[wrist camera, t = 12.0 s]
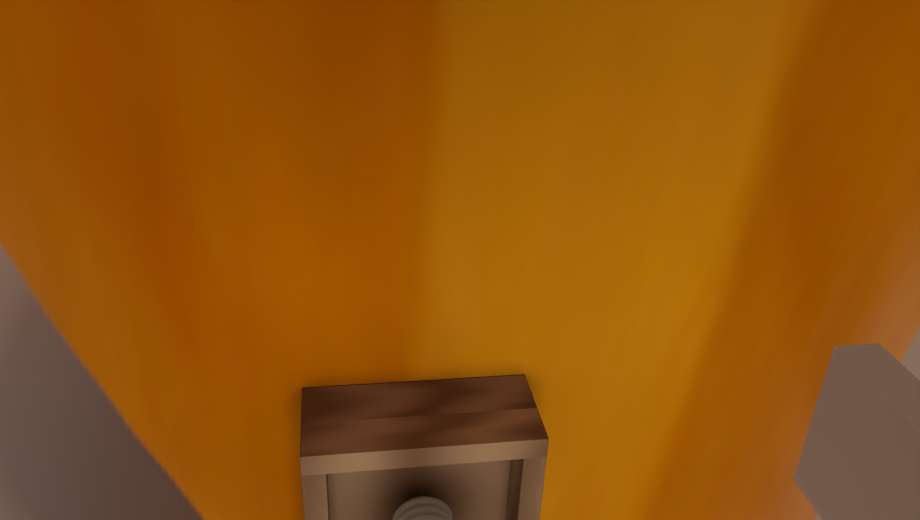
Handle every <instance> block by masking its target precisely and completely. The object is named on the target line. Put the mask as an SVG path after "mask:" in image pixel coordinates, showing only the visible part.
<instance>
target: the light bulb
mask: <svg viewBox="0 0 920 520" xmlns="http://www.w3.org/2000/svg"><path fill="white" fill-rule="evenodd" d="M392 520H453V516H452V512H451V510H450V508H449V506H448V505H447V504H446V503H445V502H443V501H442V500H440V499H437V498H433V497H429V496H417V497H414V498H412V499H410V500H408V501H407V502H405V503H404V504H402V505H401V506H400V507H399V508H398V509H397V510H396V512H395V513H394V515H393V519H392Z"/></svg>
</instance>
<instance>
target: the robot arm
mask: <svg viewBox="0 0 920 520" xmlns="http://www.w3.org/2000/svg"><path fill="white" fill-rule="evenodd" d="M793 480H794V481H795V483H796V484H797V486H798V487H799V488H800V490H801V491H802V492H803V494H804V495H805V497H806V498H807V499H808V501H809V502H810V503H811V505H812V506H813V508H814V509H815V510H816V512H817V513H818V514H819V516H820V517H821V518H822V520H920V381H919V380H918V379H917V378H916V377H915V376H914V375H913V374H912V373H910V372H909V371H908V370H907V369H906V368H905V367H904V366H903V365H902V364H901V363H900V362H899V361H898V360H896V359H895V358H894V357H893V356H892V355H891V354H890V353H889V352H888V351H887V350H886V349H884V348H883V347H882V346H881V345H880V344H864V345H847V346H834V349H833V353H832V356H831V359H830V362H829V366H828V369H827V372H826V375H825V379H824V382H823V385H822V388H821V392H820V395H819V398H818V401H817V404H816V408H815V411H814V414H813V417H812V421H811V424H810V427H809V430H808V434H807V437H806V440H805V443H804V447H803V450H802V453H801V456H800V460H799V463H798V466H797V469H796V473H795V476H794V479H793Z"/></svg>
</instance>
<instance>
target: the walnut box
mask: <svg viewBox="0 0 920 520" xmlns="http://www.w3.org/2000/svg"><path fill="white" fill-rule="evenodd" d="M548 440H549V439H548V436H547V433H546V431H545V428H544V425H543V422H542V420H541V417H540V414H539V412H538V409H537V406H536V404H535V401H534V398H533V396H532V393H531V390H530V388H529V385H528V382H527V380H526V377H525V375H512V376H495V377H479V378H462V379H446V380H429V381H412V382H396V383H379V384H363V385H346V386H329V387H313V388H302V411H301V439H300V466H301V480H302V494H303V507H304V520H392V519H393V515H394V513H395V512H396V510H397V509H398V508H399V507H400V506H401V505H402V504H404V503H405V502H407V501H408V500H410V499H412V498H414V497H417V496H429V497H433V498H437V499H440V500H442V501H443V502H445V503H446V504H447V505H448V506H449V508H450V510H451V512H452V516H453V520H539V518H540V510H541V501H542V492H543V484H544V475H545V466H546V457H547V449H548Z"/></svg>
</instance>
